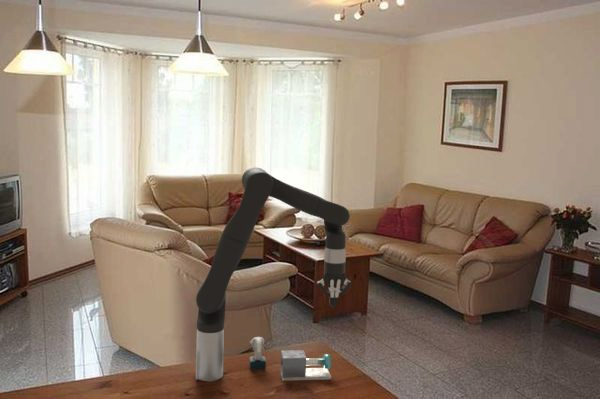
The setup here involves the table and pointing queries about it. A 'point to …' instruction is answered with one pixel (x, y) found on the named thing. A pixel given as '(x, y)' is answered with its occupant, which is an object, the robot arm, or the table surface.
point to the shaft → (320, 361)
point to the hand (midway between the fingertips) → (333, 306)
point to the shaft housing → (299, 367)
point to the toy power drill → (257, 354)
